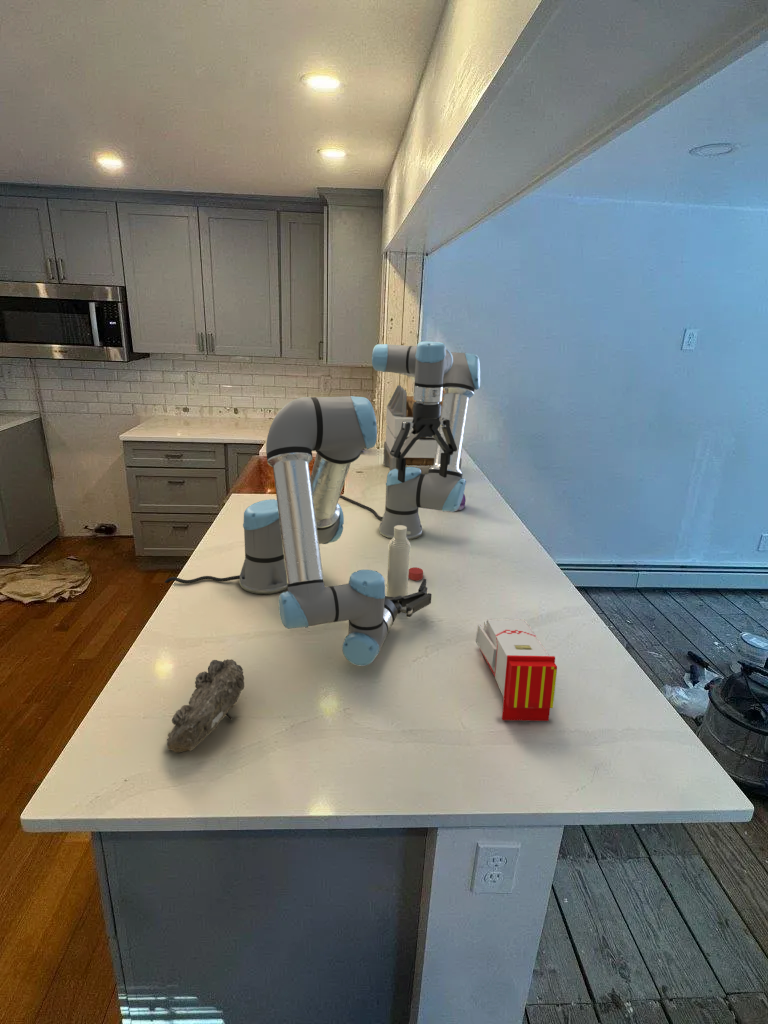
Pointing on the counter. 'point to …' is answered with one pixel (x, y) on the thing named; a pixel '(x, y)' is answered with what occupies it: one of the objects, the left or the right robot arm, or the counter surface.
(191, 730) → the fossil
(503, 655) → the toy
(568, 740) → the counter surface
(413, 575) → the cap
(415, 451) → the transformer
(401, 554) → the bottle
